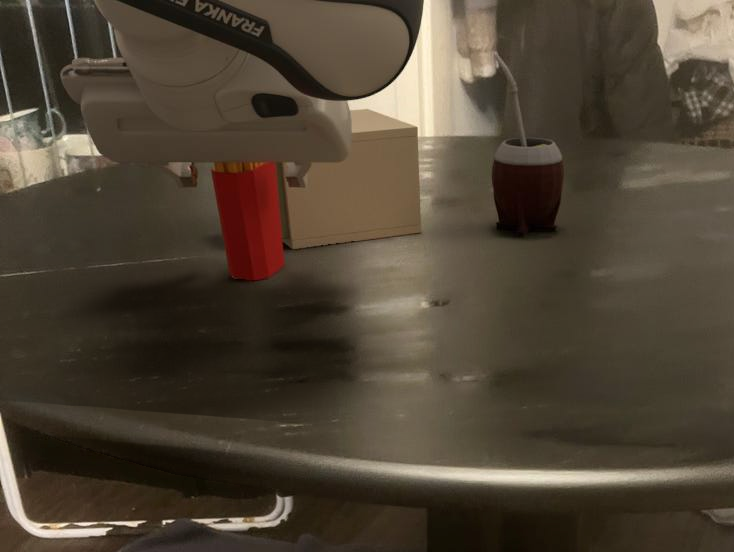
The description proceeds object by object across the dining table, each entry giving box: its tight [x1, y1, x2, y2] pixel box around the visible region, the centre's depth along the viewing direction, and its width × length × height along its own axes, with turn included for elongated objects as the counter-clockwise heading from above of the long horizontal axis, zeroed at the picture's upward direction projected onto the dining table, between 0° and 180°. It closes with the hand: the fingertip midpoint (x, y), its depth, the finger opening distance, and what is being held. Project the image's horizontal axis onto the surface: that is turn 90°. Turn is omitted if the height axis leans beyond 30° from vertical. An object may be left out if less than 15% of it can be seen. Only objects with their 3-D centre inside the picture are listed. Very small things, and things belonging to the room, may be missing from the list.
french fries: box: [210, 162, 285, 281], centre depth 84 cm, size 8×4×12 cm, turn 169°
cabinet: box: [281, 108, 422, 250], centre depth 98 cm, size 14×13×10 cm
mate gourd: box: [491, 53, 565, 238], centre depth 95 cm, size 8×8×15 cm
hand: (244, 180), depth 83 cm, fingers open, 8 cm apart
